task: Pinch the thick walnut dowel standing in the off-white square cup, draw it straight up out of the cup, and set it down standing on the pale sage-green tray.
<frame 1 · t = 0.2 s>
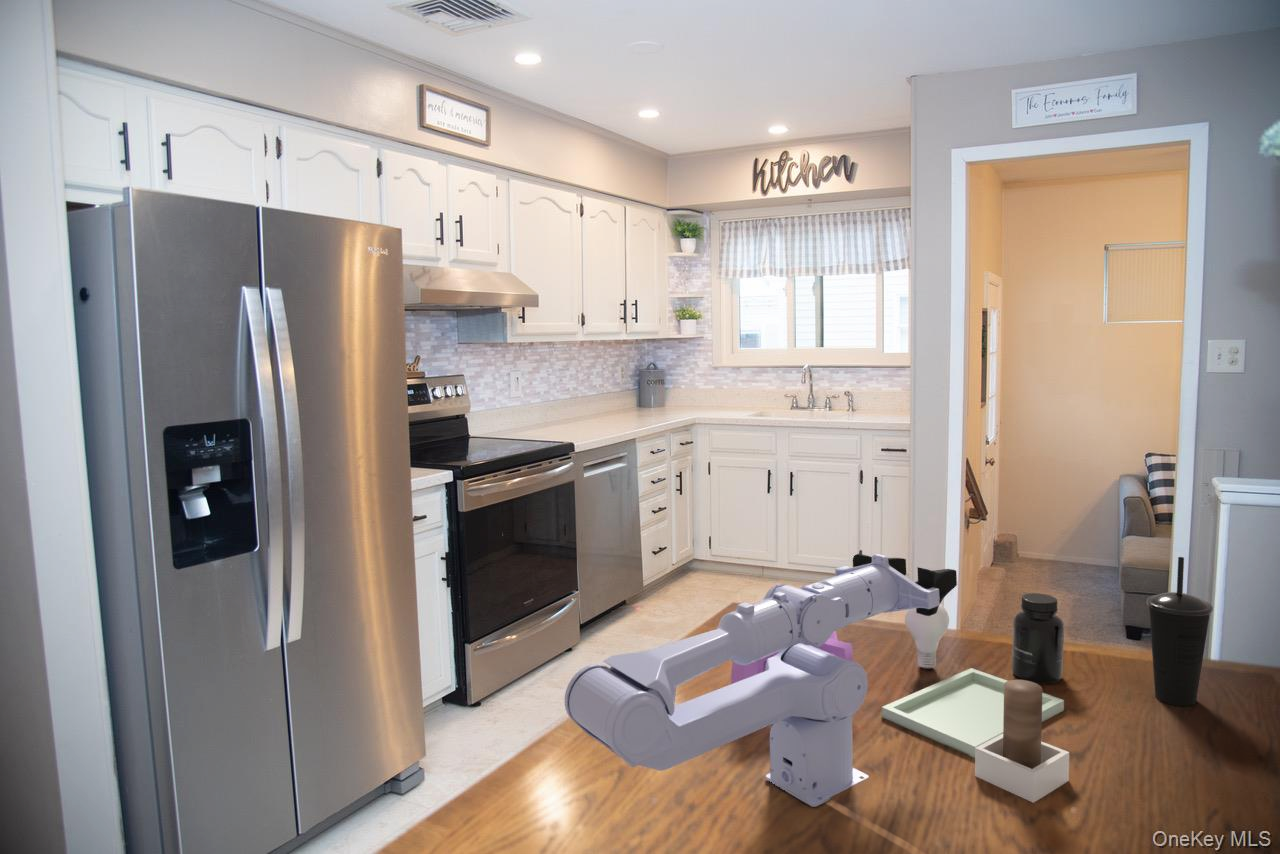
hand: (928, 571, 110), 21 cm above the table, tool horizontal, fingers open, 7 cm apart
tray: (972, 717, 116), on the table
supplement bottle: (1037, 677, 129), on the table
drinking cup: (1175, 699, 120), on the table
lightbulb: (926, 669, 133), on the table
teakettle: (785, 697, 125), on the table
walnut dowel: (1021, 777, 100), point 1 cm above the table, touching square cup
square cup: (1021, 782, 100), on the table
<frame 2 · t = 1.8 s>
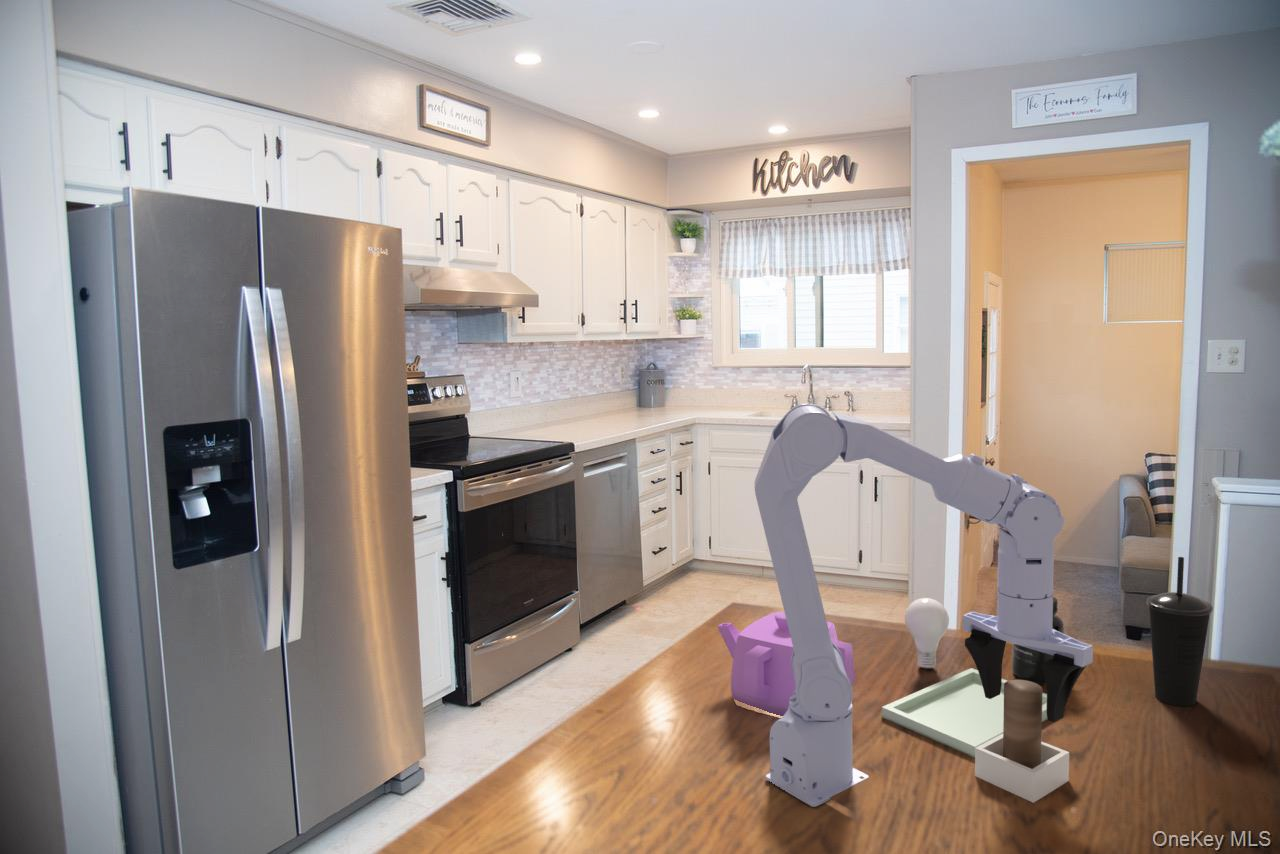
hand: (1023, 707, 99), 9 cm above the table, tool pointing down, fingers open, 7 cm apart
nothing on the table moved.
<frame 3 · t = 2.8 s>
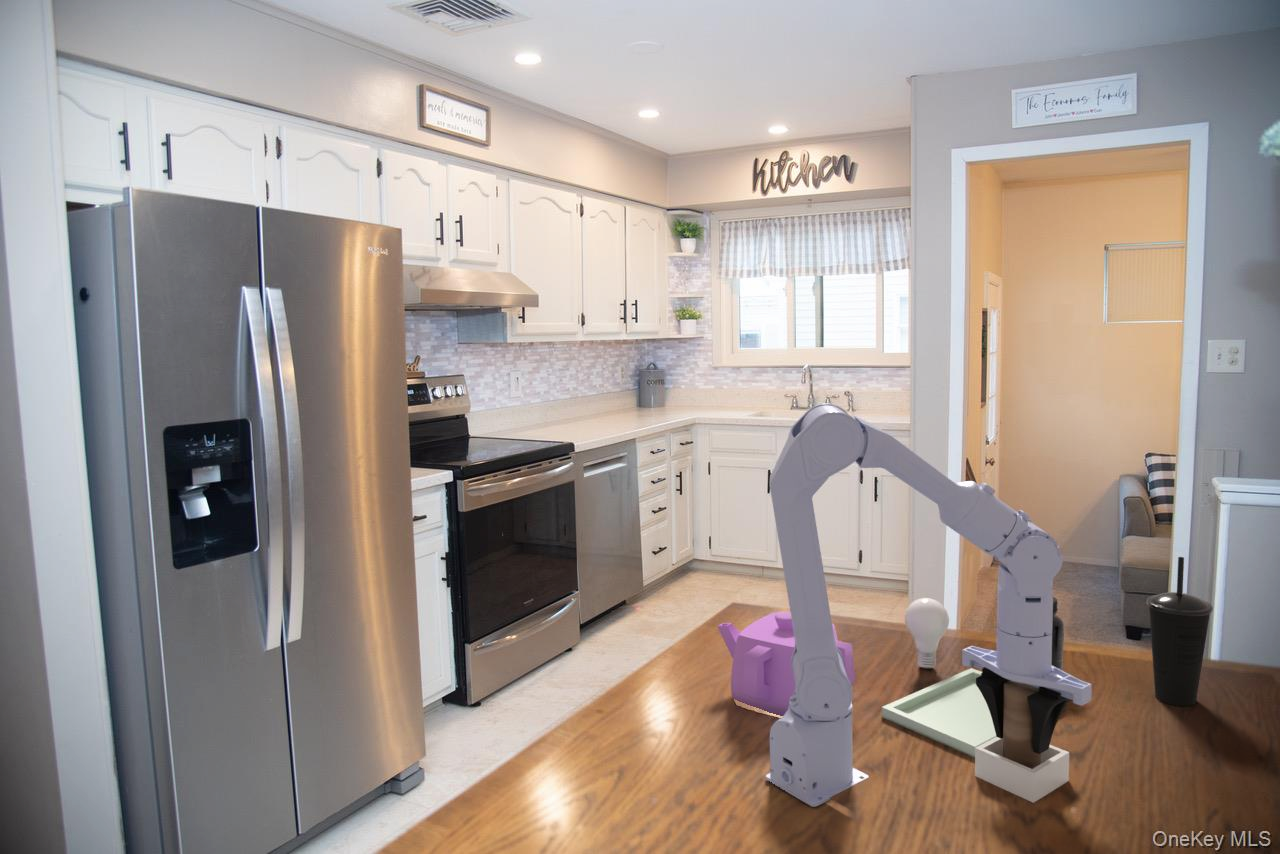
hand: (1022, 742, 99), 5 cm above the table, tool pointing down, fingers closed on walnut dowel, 4 cm apart
walnut dowel: (1021, 777, 100), point 1 cm above the table, touching gripper, square cup
everything else where it was.
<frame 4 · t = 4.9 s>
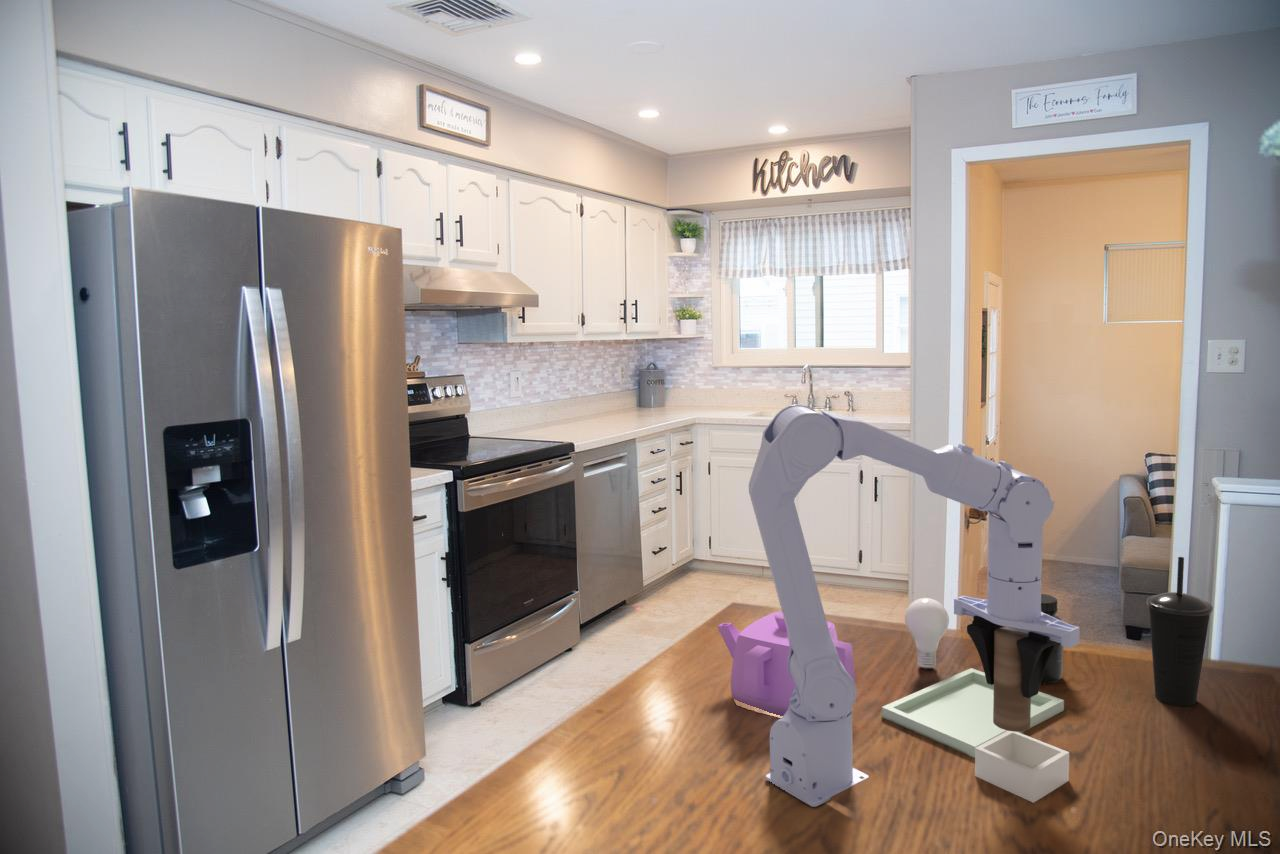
hand: (1012, 688, 101), 10 cm above the table, tool pointing down, fingers closed on walnut dowel, 4 cm apart
walnut dowel: (1011, 723, 102), point 6 cm above the table, touching gripper
everything else where it was.
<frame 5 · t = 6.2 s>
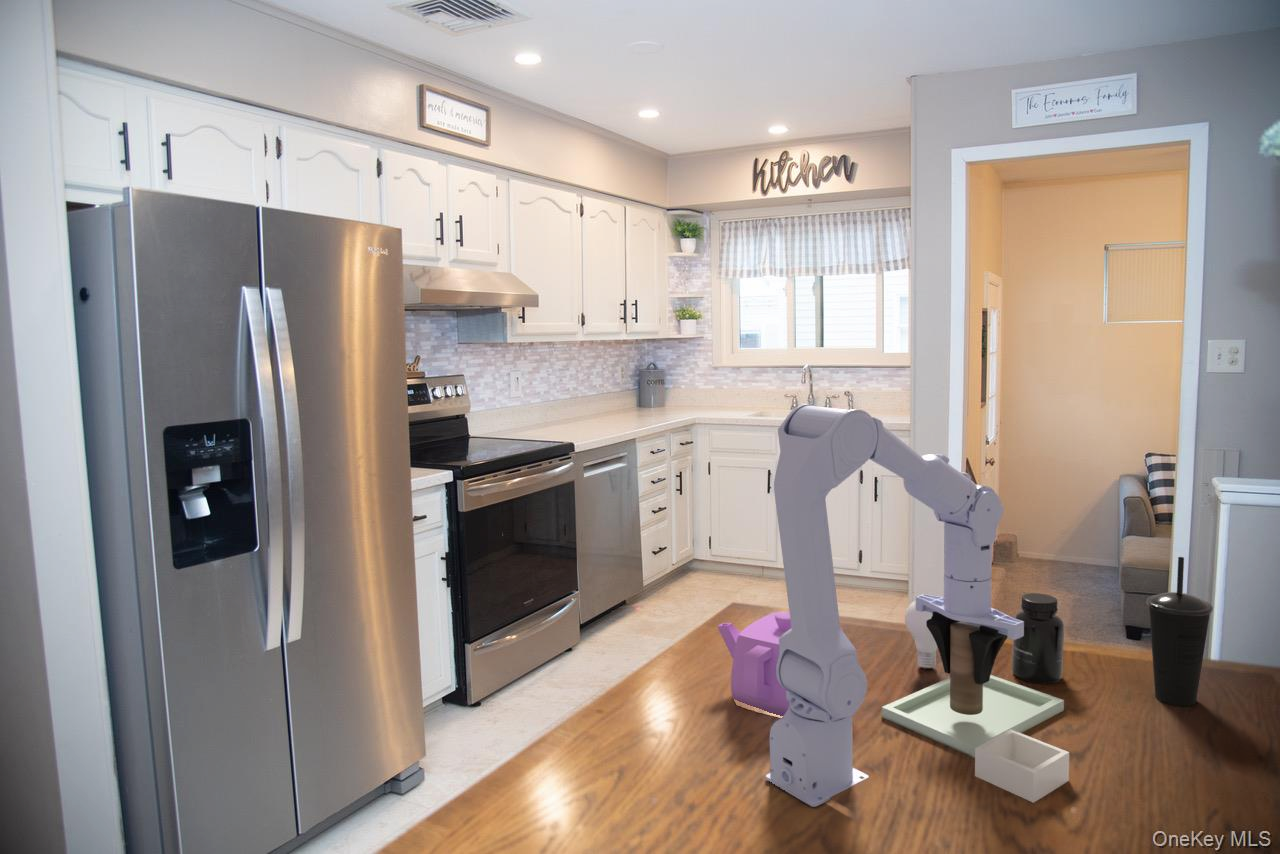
hand: (966, 676, 113), 7 cm above the table, tool pointing down, fingers closed on walnut dowel, 4 cm apart
walnut dowel: (966, 707, 113), point 3 cm above the table, touching gripper
everything else where it was.
when the fingers open (6 cm above the table, at t = 7.2 s): walnut dowel stays where it is, resting on tray.
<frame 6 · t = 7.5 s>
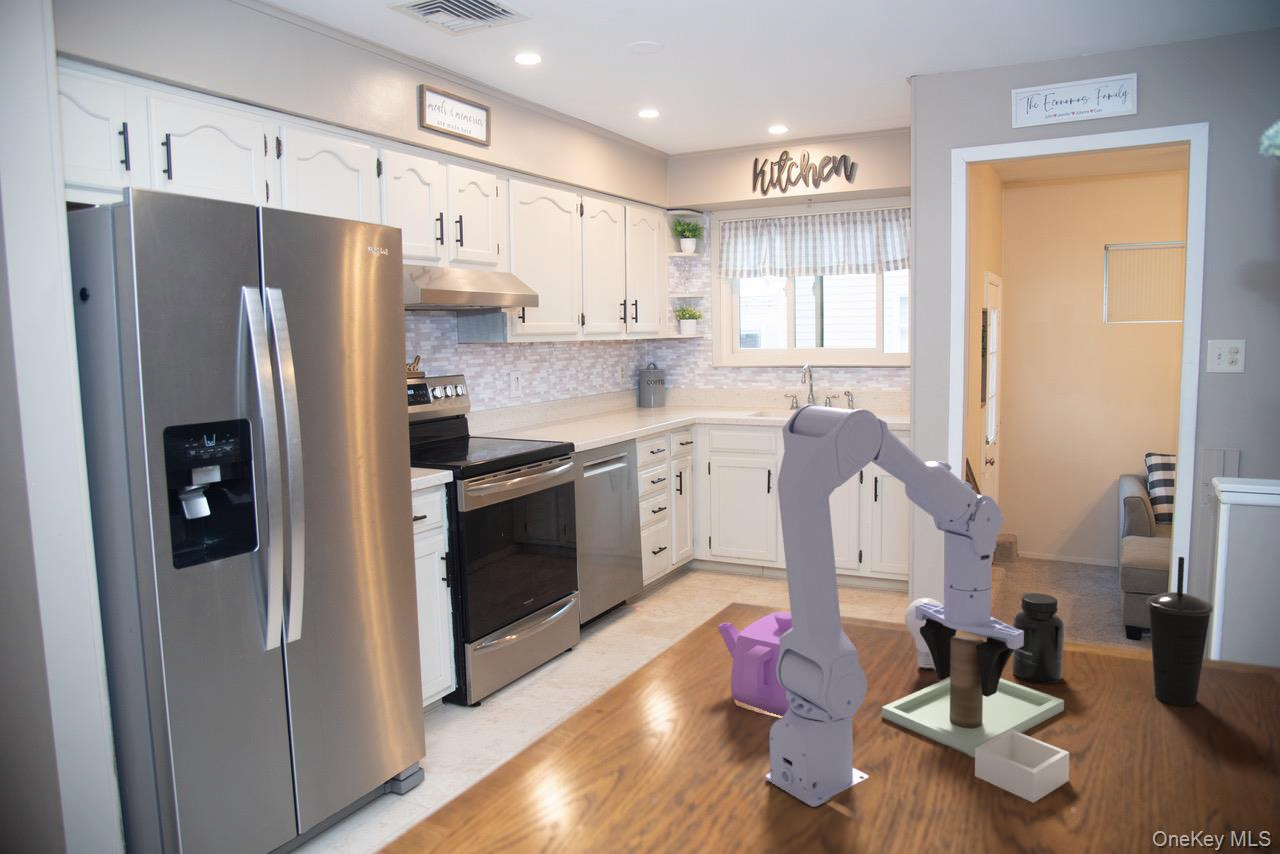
hand: (966, 685, 113), 6 cm above the table, tool pointing down, fingers open, 6 cm apart
walnut dowel: (965, 721, 114), point 1 cm above the table, touching tray
everything else where it was.
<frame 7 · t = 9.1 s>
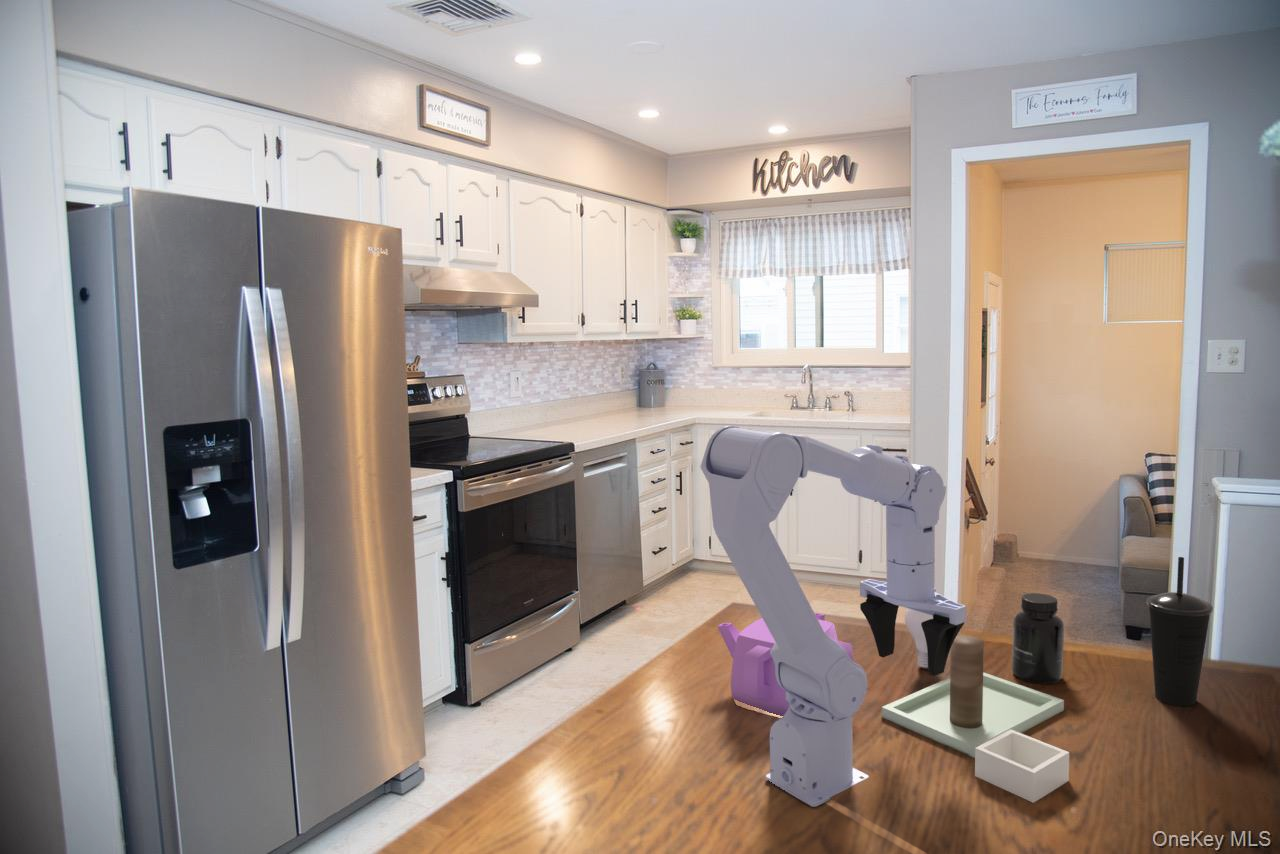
hand: (910, 663, 109), 10 cm above the table, tool pointing down, fingers open, 7 cm apart
nothing on the table moved.
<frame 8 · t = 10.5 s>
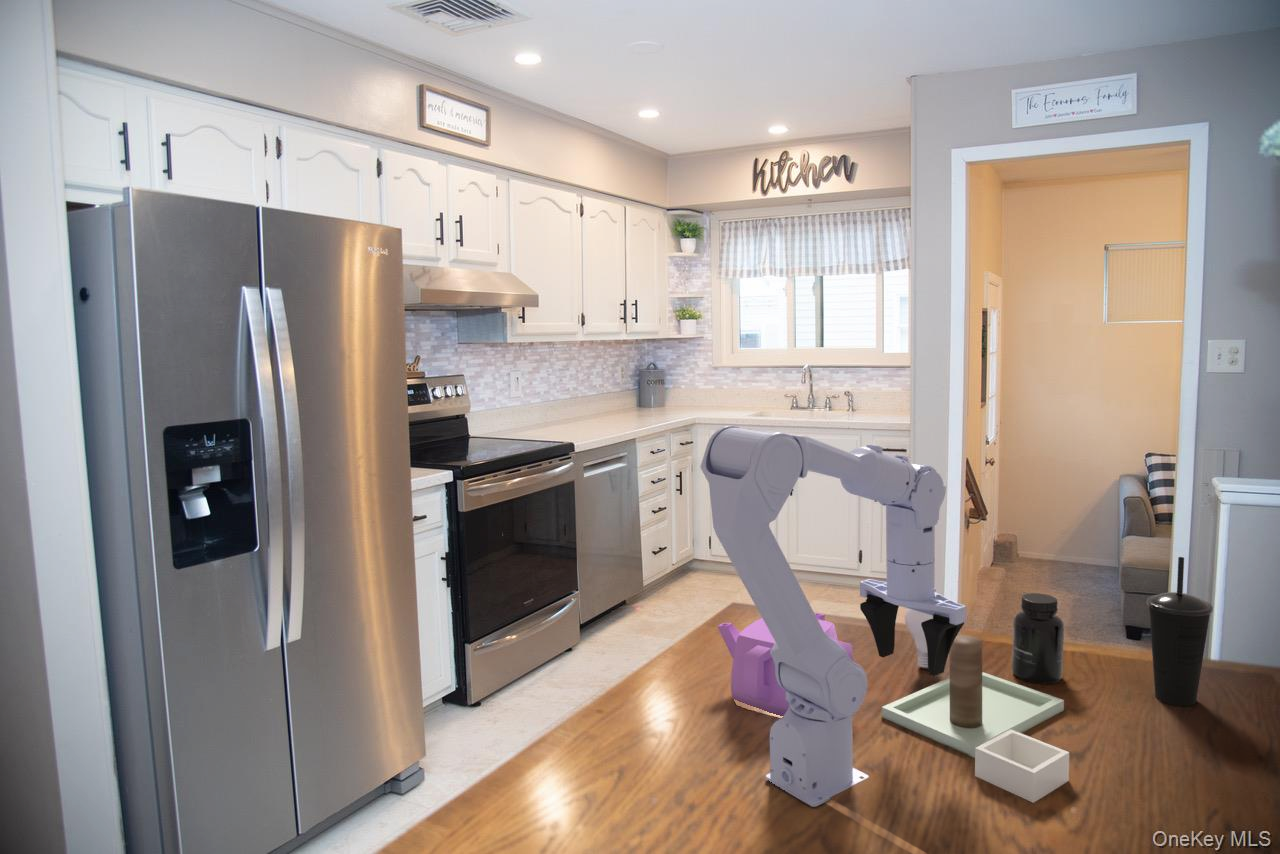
hand: (910, 663, 109), 10 cm above the table, tool pointing down, fingers open, 7 cm apart
nothing on the table moved.
at the end: walnut dowel inside the target area on the tray (3.2 cm from its centre), point 0.8 cm above the tray's base; walnut dowel tilted 1°; the gripper is holding nothing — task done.
